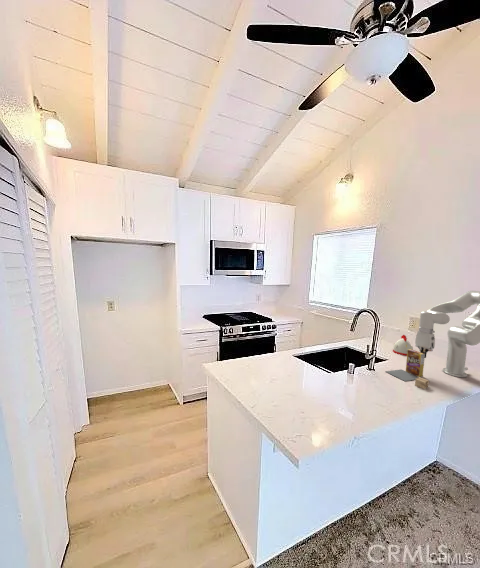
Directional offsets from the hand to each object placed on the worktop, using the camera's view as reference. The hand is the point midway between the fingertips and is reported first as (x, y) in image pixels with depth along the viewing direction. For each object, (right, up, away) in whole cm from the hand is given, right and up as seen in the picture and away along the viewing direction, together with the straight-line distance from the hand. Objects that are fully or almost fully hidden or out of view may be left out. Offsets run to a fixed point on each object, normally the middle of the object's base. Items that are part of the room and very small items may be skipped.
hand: (422, 357), depth 169 cm
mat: (-16, -10, -4) cm, 19 cm away
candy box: (-7, -11, -1) cm, 13 cm away
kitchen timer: (+12, -8, +41) cm, 43 cm away
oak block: (-14, -12, -18) cm, 26 cm away
